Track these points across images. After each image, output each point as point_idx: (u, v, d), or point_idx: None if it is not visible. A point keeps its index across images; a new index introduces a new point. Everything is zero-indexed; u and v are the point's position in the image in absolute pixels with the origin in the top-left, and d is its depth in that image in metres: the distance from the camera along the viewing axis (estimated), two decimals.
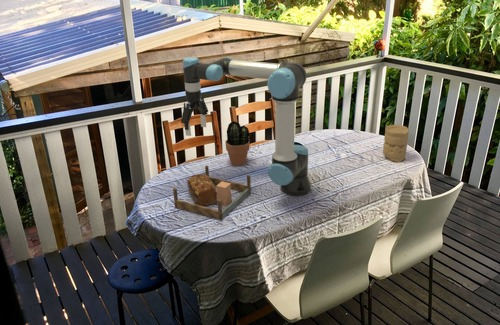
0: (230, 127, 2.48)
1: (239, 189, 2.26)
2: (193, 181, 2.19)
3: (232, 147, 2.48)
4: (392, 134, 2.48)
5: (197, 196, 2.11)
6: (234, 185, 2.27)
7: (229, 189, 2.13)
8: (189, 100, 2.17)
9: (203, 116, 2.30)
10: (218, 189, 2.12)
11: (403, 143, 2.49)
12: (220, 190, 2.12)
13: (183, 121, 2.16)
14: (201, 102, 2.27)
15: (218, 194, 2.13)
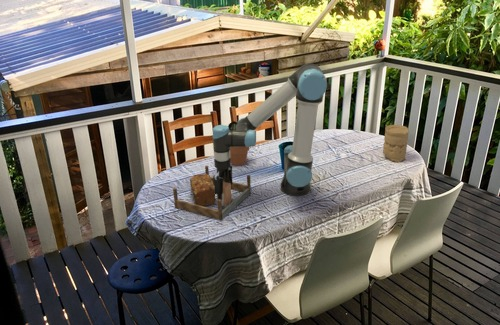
0: (230, 127, 2.48)
1: (239, 189, 2.26)
2: (194, 180, 2.19)
3: (232, 147, 2.48)
4: (392, 134, 2.48)
5: (195, 196, 2.11)
6: (234, 185, 2.27)
7: (229, 189, 2.13)
8: (218, 169, 2.06)
9: None
10: None
11: (403, 143, 2.49)
12: None
13: (217, 192, 2.08)
14: (228, 172, 2.15)
15: None
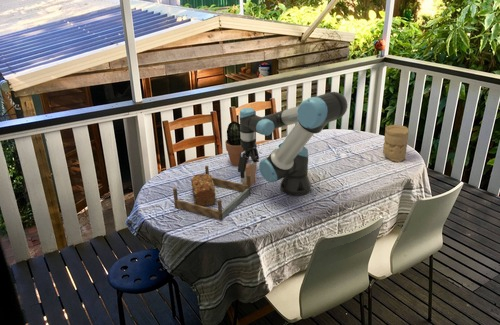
0: (230, 127, 2.48)
1: (239, 189, 2.26)
2: (195, 180, 2.19)
3: (232, 147, 2.48)
4: (392, 134, 2.48)
5: (195, 196, 2.11)
6: (234, 185, 2.27)
7: (253, 170, 2.31)
8: (244, 149, 2.23)
9: (254, 164, 2.35)
10: None
11: (403, 143, 2.49)
12: None
13: (240, 170, 2.23)
14: (254, 150, 2.32)
15: None
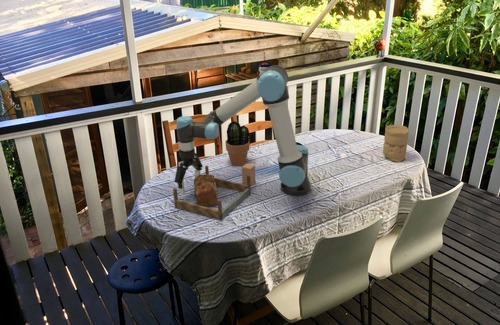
0: (230, 127, 2.48)
1: (239, 189, 2.26)
2: (197, 181, 2.19)
3: (232, 147, 2.48)
4: (392, 134, 2.48)
5: (197, 196, 2.11)
6: (234, 185, 2.27)
7: (253, 170, 2.31)
8: (183, 159, 2.14)
9: (197, 172, 2.26)
10: (243, 170, 2.30)
11: (403, 143, 2.49)
12: (245, 171, 2.30)
13: (177, 180, 2.13)
14: (195, 158, 2.23)
15: (243, 175, 2.31)
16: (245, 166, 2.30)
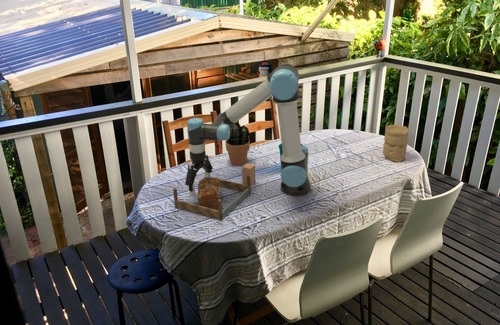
0: (230, 127, 2.48)
1: (239, 189, 2.26)
2: (201, 183, 2.16)
3: (232, 147, 2.48)
4: (392, 134, 2.48)
5: (199, 199, 2.08)
6: (234, 185, 2.27)
7: (253, 170, 2.31)
8: (193, 161, 2.11)
9: (208, 174, 2.24)
10: (243, 170, 2.30)
11: (403, 143, 2.49)
12: (245, 171, 2.30)
13: (187, 183, 2.10)
14: (205, 161, 2.21)
15: (243, 175, 2.31)
16: (245, 166, 2.30)
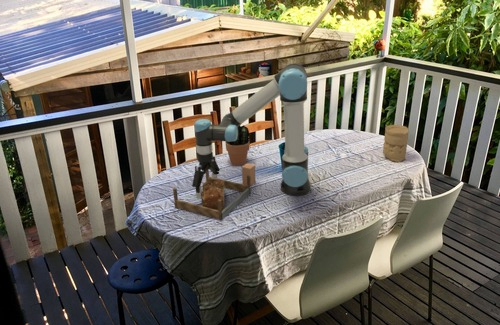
0: None
1: (239, 189, 2.26)
2: (205, 185, 2.14)
3: (232, 147, 2.48)
4: (392, 134, 2.48)
5: (203, 201, 2.06)
6: (234, 185, 2.27)
7: (253, 170, 2.31)
8: (200, 163, 2.09)
9: (214, 176, 2.22)
10: (243, 170, 2.30)
11: (403, 143, 2.49)
12: (245, 171, 2.30)
13: (194, 185, 2.08)
14: (212, 162, 2.19)
15: (243, 175, 2.31)
16: (245, 166, 2.30)
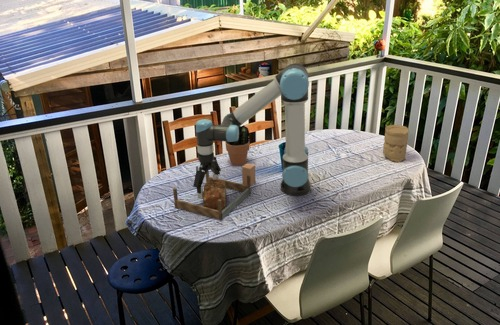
0: None
1: (239, 189, 2.26)
2: (207, 186, 2.14)
3: (232, 147, 2.48)
4: (392, 134, 2.48)
5: (204, 202, 2.06)
6: (234, 185, 2.27)
7: (253, 170, 2.31)
8: (202, 163, 2.09)
9: (215, 176, 2.22)
10: (243, 170, 2.30)
11: (403, 143, 2.49)
12: (245, 171, 2.30)
13: (195, 185, 2.08)
14: (213, 162, 2.18)
15: (243, 175, 2.31)
16: (245, 166, 2.30)
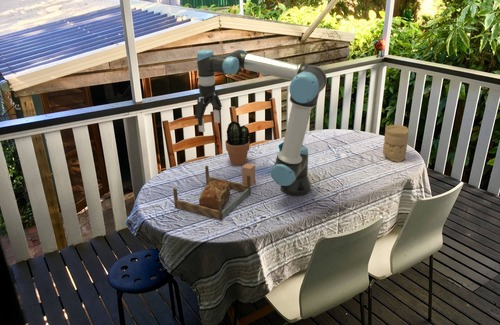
0: (230, 127, 2.48)
1: (239, 189, 2.26)
2: (208, 185, 2.15)
3: (232, 147, 2.48)
4: (392, 134, 2.48)
5: (200, 200, 2.07)
6: (234, 185, 2.27)
7: (253, 170, 2.31)
8: (203, 94, 2.08)
9: (217, 111, 2.21)
10: (243, 170, 2.30)
11: (403, 143, 2.49)
12: (245, 171, 2.30)
13: (197, 116, 2.07)
14: (215, 97, 2.18)
15: (243, 175, 2.31)
16: (245, 166, 2.30)
